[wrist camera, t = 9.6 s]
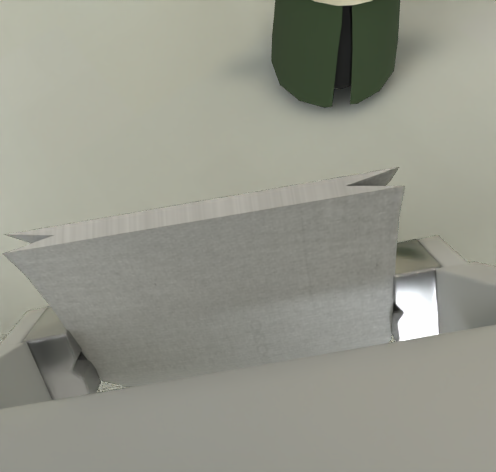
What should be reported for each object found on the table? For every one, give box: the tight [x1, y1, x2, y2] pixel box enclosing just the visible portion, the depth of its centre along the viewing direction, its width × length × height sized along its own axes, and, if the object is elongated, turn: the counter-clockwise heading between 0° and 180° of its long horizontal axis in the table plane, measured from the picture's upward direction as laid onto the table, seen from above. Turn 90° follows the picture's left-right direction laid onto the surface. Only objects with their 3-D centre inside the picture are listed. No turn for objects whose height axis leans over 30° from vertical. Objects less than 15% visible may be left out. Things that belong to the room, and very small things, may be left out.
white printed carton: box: [2, 167, 405, 387], centre depth 12 cm, size 4×7×10 cm, turn 97°
